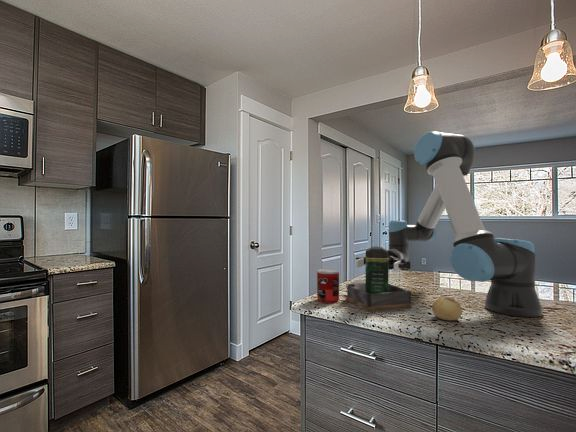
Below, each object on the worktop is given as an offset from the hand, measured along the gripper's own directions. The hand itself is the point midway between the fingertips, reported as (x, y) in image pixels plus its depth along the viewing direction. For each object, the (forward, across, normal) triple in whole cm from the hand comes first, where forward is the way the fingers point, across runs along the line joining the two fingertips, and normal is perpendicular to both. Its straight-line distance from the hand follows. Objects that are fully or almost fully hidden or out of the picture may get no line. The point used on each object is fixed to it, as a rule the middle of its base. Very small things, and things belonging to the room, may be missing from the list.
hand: (375, 265), depth 107 cm
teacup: (-10, +10, -14) cm, 20 cm away
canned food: (+4, +16, -14) cm, 22 cm away
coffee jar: (-2, 0, -12) cm, 12 cm away
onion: (+3, -23, -14) cm, 27 cm away
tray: (-1, 0, -14) cm, 14 cm away
